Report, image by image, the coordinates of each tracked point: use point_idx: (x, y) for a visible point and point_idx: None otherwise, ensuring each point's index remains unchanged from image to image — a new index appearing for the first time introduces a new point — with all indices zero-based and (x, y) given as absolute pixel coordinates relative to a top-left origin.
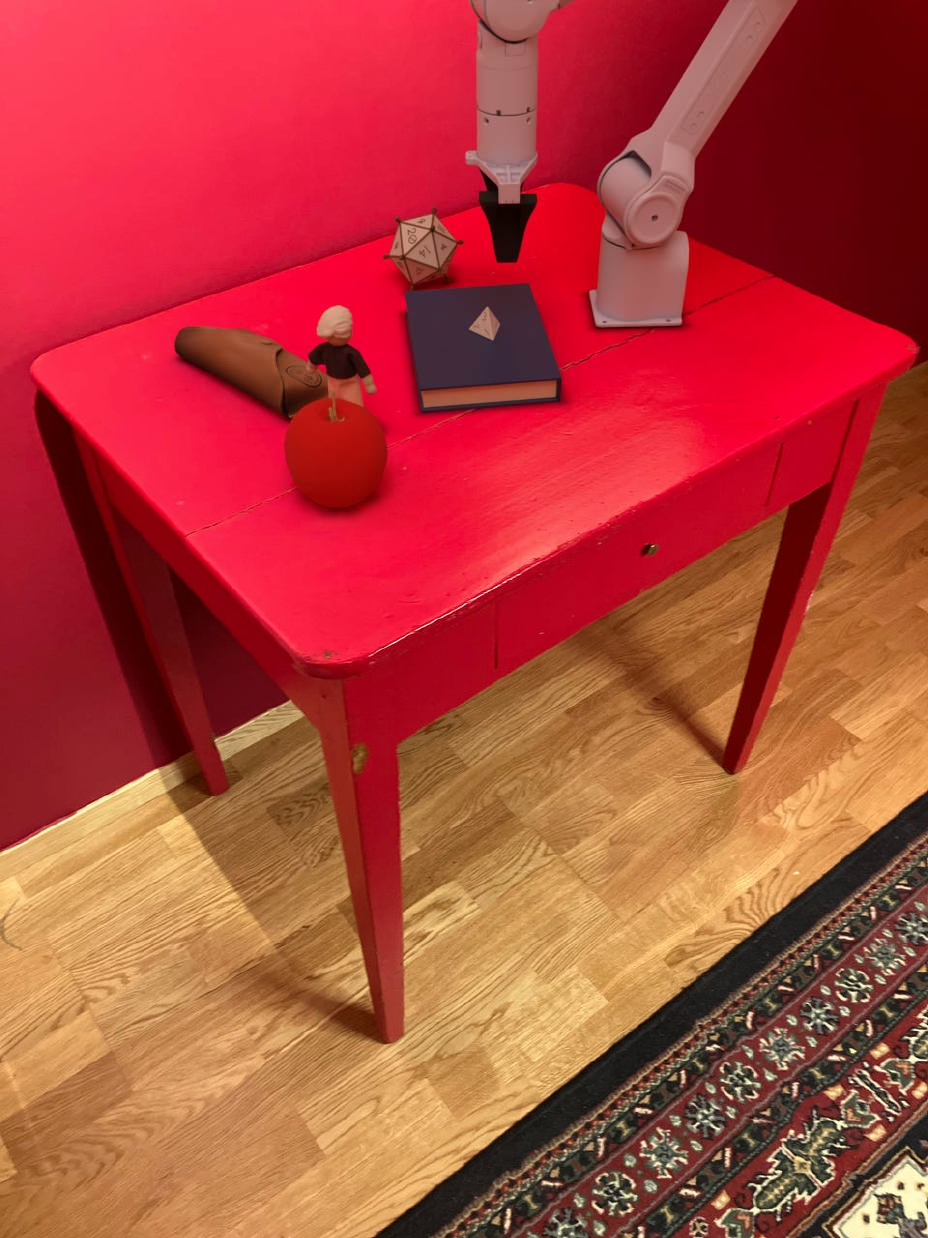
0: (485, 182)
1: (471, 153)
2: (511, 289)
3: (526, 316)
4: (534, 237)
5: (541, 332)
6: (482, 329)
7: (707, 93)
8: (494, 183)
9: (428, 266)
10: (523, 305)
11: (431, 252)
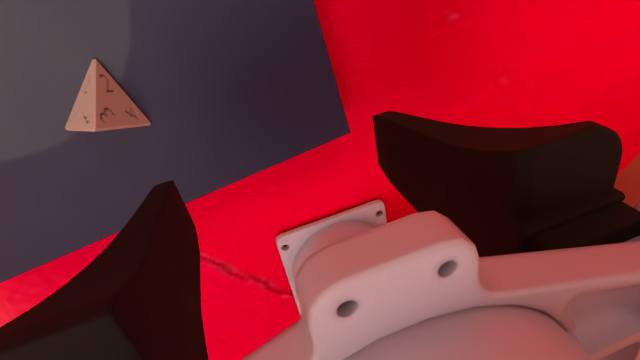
0: (462, 150)
1: (417, 291)
2: (317, 106)
3: (207, 165)
4: (572, 64)
5: None
6: (79, 103)
7: None
8: (459, 180)
9: None
10: (252, 147)
11: None
